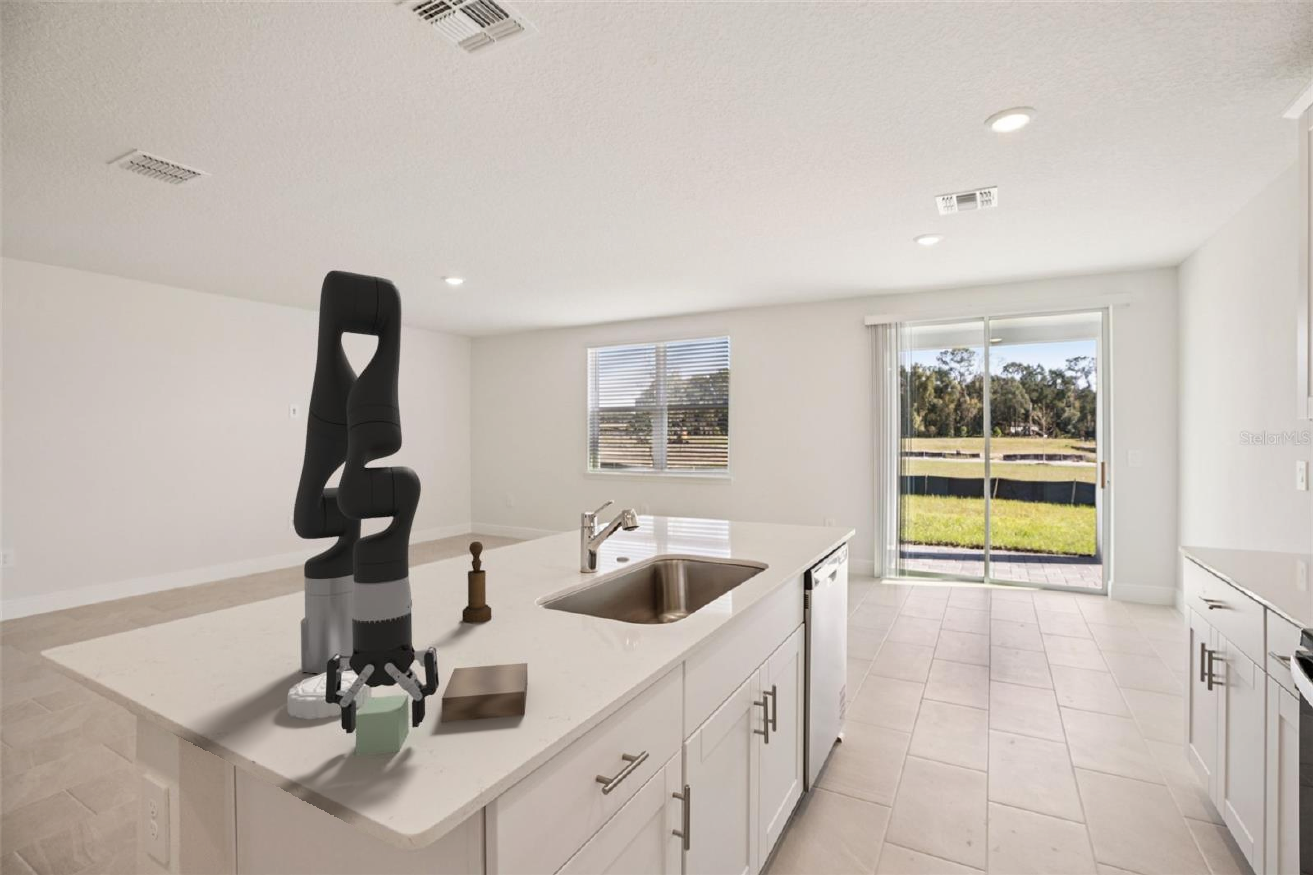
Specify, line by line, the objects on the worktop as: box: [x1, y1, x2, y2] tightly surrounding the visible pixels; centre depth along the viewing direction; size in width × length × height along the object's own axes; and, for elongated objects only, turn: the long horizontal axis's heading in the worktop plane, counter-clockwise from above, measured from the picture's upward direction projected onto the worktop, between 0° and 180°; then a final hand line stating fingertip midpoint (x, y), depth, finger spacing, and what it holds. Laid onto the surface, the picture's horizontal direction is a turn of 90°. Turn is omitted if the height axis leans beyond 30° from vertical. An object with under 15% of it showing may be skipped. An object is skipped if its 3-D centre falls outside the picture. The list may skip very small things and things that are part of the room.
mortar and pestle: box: [461, 541, 493, 624], centre depth 144 cm, size 7×6×18 cm
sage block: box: [355, 694, 410, 756], centre depth 86 cm, size 6×6×6 cm
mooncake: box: [287, 670, 373, 720], centre depth 100 cm, size 12×12×4 cm
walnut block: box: [441, 662, 529, 723], centre depth 99 cm, size 12×12×4 cm
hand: (384, 728), depth 86 cm, fingers open, 8 cm apart
